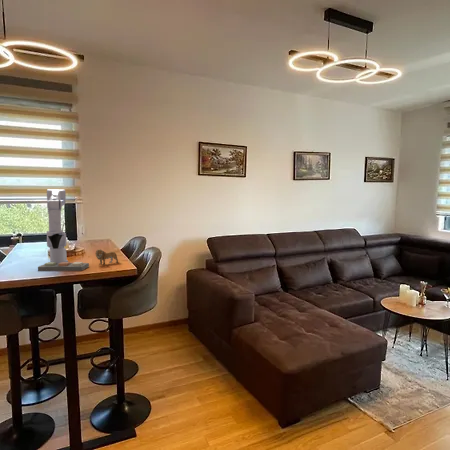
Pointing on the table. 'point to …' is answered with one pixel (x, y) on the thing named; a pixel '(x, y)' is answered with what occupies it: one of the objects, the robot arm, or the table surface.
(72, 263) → the cream button
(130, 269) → the table surface
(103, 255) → the lion figurine
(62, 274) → the table surface
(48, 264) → the sage button
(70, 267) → the button panel
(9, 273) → the table surface
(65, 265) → the terracotta button
